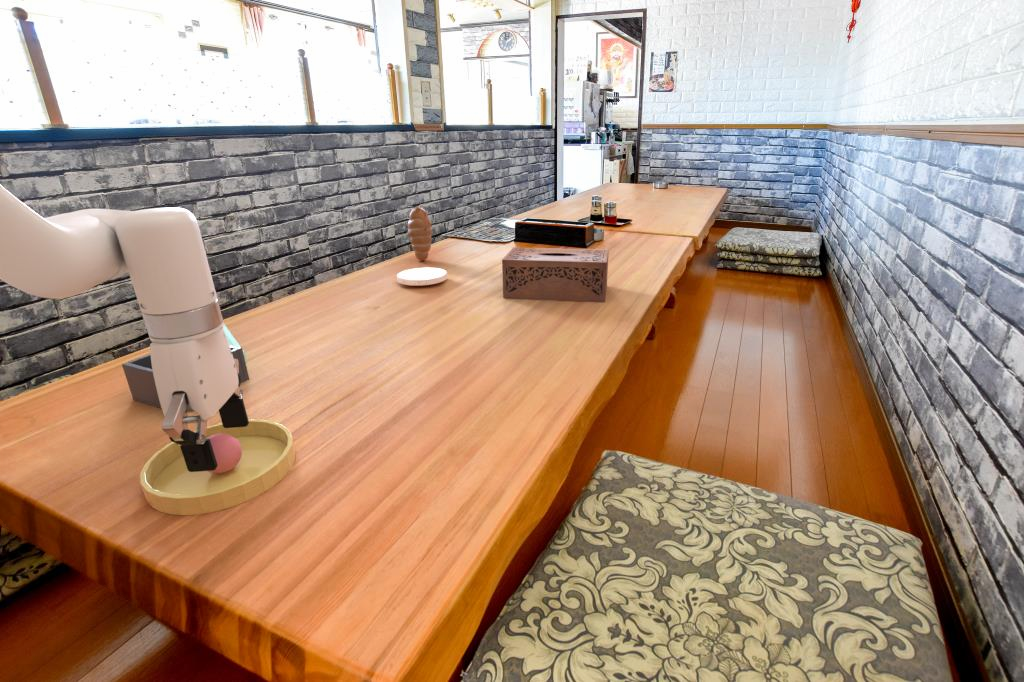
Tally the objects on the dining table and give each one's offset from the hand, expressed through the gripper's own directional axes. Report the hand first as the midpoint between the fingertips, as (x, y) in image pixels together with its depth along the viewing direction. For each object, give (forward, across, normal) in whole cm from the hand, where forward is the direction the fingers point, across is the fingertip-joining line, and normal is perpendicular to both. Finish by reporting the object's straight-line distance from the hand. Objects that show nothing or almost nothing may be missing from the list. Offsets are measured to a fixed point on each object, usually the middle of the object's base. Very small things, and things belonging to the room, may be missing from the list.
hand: (221, 446), depth 67 cm
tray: (+4, 0, 0) cm, 4 cm away
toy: (+3, 0, 0) cm, 3 cm away
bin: (+4, -25, -16) cm, 30 cm away
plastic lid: (+5, -88, +18) cm, 90 cm away
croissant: (+5, -115, +16) cm, 116 cm away
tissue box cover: (+5, -73, +55) cm, 92 cm away
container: (+4, -42, -18) cm, 46 cm away
